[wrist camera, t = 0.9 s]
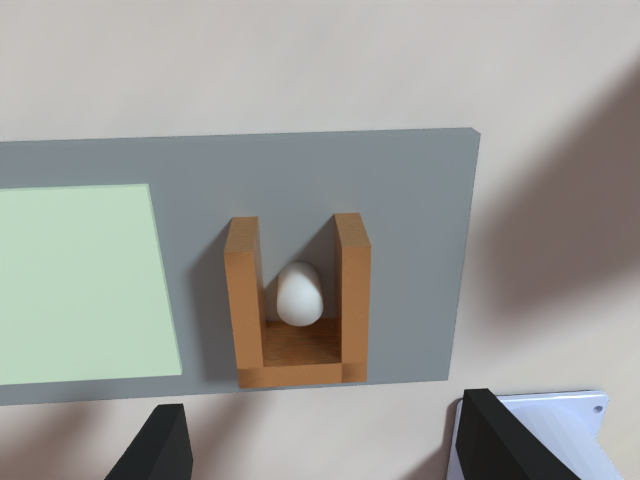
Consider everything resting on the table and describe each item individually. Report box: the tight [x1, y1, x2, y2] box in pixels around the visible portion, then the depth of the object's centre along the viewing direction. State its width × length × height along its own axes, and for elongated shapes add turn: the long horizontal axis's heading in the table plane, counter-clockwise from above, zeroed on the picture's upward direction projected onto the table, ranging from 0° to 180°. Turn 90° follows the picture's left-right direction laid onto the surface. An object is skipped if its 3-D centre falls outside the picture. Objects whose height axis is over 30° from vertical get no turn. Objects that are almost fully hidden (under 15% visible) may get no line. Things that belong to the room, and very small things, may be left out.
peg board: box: [0, 128, 481, 406], centre depth 19 cm, size 12×24×3 cm, turn 91°
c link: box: [224, 212, 372, 389], centre depth 19 cm, size 6×5×3 cm
